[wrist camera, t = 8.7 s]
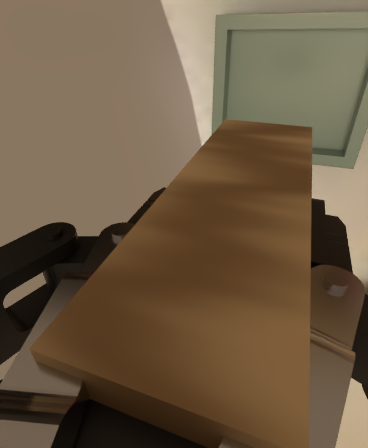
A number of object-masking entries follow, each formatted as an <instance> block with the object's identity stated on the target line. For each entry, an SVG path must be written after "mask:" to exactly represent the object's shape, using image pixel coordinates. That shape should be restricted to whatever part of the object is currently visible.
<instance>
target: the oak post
mask: <svg viewBox="0 0 368 448" xmlns="http://www.w3.org/2000/svg"><path fill="white" fill-rule="evenodd" d="M311 199H312V127H305V126H294V125H284V124H273V123H262V122H251V121H240V120H229V119H225V120H224V121H223V123H222V124H221V125H220V126H219V127H218V128H217V130H216V131H215V132H214V133H213V134H212V136H211V137H210V138H209V139H208V140H207V141H206V143H205V144H204V145H203V146H202V147H201V148H200V150H199V151H198V152H197V153H196V154H195V156H194V157H193V158H192V159H191V160H190V161H189V162H188V164H187V165H186V166H185V167H184V168H183V169H182V171H181V172H180V173H179V174H178V175H177V176H176V178H175V179H174V180H173V181H172V182H171V183H170V185H169V186H168V187H167V188H166V189H165V190H164V192H163V193H162V194H161V195H160V196H159V197H158V199H157V200H156V201H155V202H154V203H153V204H152V206H151V207H150V208H149V209H148V210H147V211H146V213H145V214H144V215H143V216H142V217H141V218H140V220H139V221H138V222H137V223H136V224H135V226H134V227H133V228H132V229H131V230H130V231H129V233H128V234H127V235H126V236H125V237H124V238H123V240H122V241H121V242H120V243H119V244H118V245H117V247H116V248H115V249H114V250H113V251H112V252H111V254H110V255H109V256H108V257H107V258H106V259H105V261H104V262H103V263H102V264H101V265H100V266H99V268H98V269H97V270H96V271H95V272H94V273H93V275H92V276H91V277H90V278H89V279H88V280H87V282H86V283H85V284H84V285H83V286H82V287H81V289H80V290H79V291H78V292H77V293H76V294H75V296H74V297H73V298H72V299H71V300H70V301H69V303H68V304H67V305H66V306H65V307H64V309H63V310H62V311H61V312H60V313H59V314H58V316H57V317H56V318H55V319H54V320H53V321H52V323H51V324H50V325H49V326H48V327H47V328H46V330H45V331H44V332H43V333H42V334H41V335H40V337H39V338H38V339H37V340H36V341H35V342H34V344H33V345H32V346H31V347H30V348H29V350H30V352H31V354H32V356H33V358H34V360H35V361H37V362H40V363H42V364H45V365H47V366H50V367H52V368H55V369H57V370H60V371H62V372H65V373H67V374H70V375H72V376H75V377H77V378H80V379H82V380H84V383H85V385H86V388H87V391H88V393H89V396H90V397H89V399H91V400H94V401H96V402H99V403H101V404H103V405H106V406H108V407H111V408H113V409H116V410H118V411H120V412H123V413H125V414H128V415H130V416H132V417H135V418H137V419H140V420H142V421H144V422H147V423H149V424H152V425H154V426H157V427H159V428H161V429H164V430H166V431H169V432H171V433H173V434H176V435H178V436H181V437H183V438H185V439H188V440H190V441H193V442H195V443H197V444H200V445H202V446H205V447H207V448H219V446H220V444H221V442H222V440H223V438H224V436H226V437H229V438H231V439H234V440H236V441H239V442H241V443H244V444H246V445H249V446H251V447H254V448H309V385H310V292H311Z"/></svg>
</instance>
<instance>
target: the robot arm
mask: <svg viewBox="0 0 368 448" xmlns="http://www.w3.org/2000/svg"><path fill="white" fill-rule="evenodd" d="M165 189H166V188H162V189H160V190H158V191H156V192H154V193H153V194H152V195H151V197H150V198H149V199H148V201H146V202H145V203H144V204H143V206H141V208H140V209H139V210H138V211H137V212H136V213H135V214H134V215H133V216H132V217H131V219H130V220H129V221H128V222H124V223H123V222H122V223H116V224H112V225H110V226H108V227H106V228H105V229H104V230H102V231H101V233H100V235H99V236H77V232H76V229H75V227H74V226H73V225H71V224H69V223H64V222H58V223H51V224H48V225H45V226H43V227H40V228H38V229H36V230H35V231H32V232H30V233H28V234H26V235H24V236H22V237H20V238H18V239H16V240H14V241H12V242H10V243H8V244H6V245H4V246H2V247H0V365H1V364H2V363H3V362H5V361H6V360H7V359H9V358H10V357H11V356H13V355H14V354H15V353H17V352H18V351H19V353H18V355H17V356H16V358H15V360H14V361H13V363H12V365H11V367H10V368H9V370H8V372H7V373H6V375H5V377H4V379H2V380H0V448H207V447H205V446H202V445H200V444H197V443H195V442H193V441H190V440H188V439H185V438H183V437H181V436H178V435H176V434H173V433H171V432H169V431H166V430H164V429H161V428H159V427H157V426H154V425H152V424H149V423H147V422H144V421H142V420H140V419H137V418H135V417H132V416H130V415H128V414H125V413H123V412H120V411H118V410H116V409H113V408H111V407H108V406H106V405H103V404H101V403H99V402H96V401H94V400H91V399H89V397H90V396H89V393H88V391H87V388H86V385H85V383H84V380H82V379H80V378H77V377H75V376H72V375H70V374H67V373H65V372H62V371H60V370H57V369H55V368H52V367H50V366H47V365H45V364H42V363H40V362H37V361H35V360H34V358H33V356H32V354H31V352H30V350H29V348H30V347H31V346H32V345H33V344H34V342H35V341H36V340H37V339H38V338H39V337H40V335H41V334H42V333H43V332H44V331H45V330H46V328H47V327H48V326H49V325H50V324H51V323H52V321H53V320H54V319H55V318H56V317H57V316H58V314H59V313H60V312H61V311H62V310H63V309H64V307H65V306H66V305H67V304H68V303H69V301H70V300H71V299H72V298H73V297H74V296H75V294H76V293H77V292H78V291H79V290H80V289H81V287H82V286H83V285H84V284H85V283H86V282H87V280H88V279H89V278H90V277H91V276H92V275H93V273H94V272H95V271H96V270H97V269H98V268H99V266H100V265H101V264H102V263H103V262H104V261H105V259H106V258H107V257H108V256H109V255H110V254H111V252H112V251H113V250H114V249H115V248H116V247H117V245H118V244H119V243H120V242H121V241H122V240H123V238H124V237H125V236H126V235H127V234H128V233H129V231H130V230H131V229H132V228H133V227H134V226H135V224H136V223H137V222H138V221H139V220H140V218H141V217H142V216H143V215H144V214H145V213H146V211H147V210H148V209H149V208H150V207H151V206H152V204H153V203H154V202H155V201H156V200H157V199H158V197H159V196H160V195H161V194H162V193H163V192H164V190H165ZM42 272H43V275H44V278H45V280H46V284H45V285H43V286H41V287H40V288H38V289H37V290H35V291H33V292H32V293H30V294H29V295H27V296H25V297H24V298H22V299H21V300H19V301H17V302H16V303H14V304H13V305H11V306H9V307H8V308H4V306H3V301H4V298H5V296H6V295H7V294H8V293H9V292H10V291H11V290H13V289H15V288H16V287H18V286H20V285H21V284H23V283H24V282H27V281H28V280H30V279H32V278H33V277H35V276H37V275H38V274H40V273H42ZM351 378H353V379H354V380H356V381H358V382H359V383H361V384H362V387H363V390H364V392H365V394H366V397H367V399H368V295H367V294H366V293H365V287H364V285H363V283H362V282H361V281H360V280H359V279H358V278H357V277H356V276H355V275H354V274H353V271H352V265H351V258H350V252H349V246H348V239H347V232H346V226H345V225H344V224H343V222H342V221H341V220H340V219H339V218H338V217H337V216H331V215H325V202H324V200H319V199H311V292H310V385H309V448H335V446H336V441H337V437H338V432H339V428H340V424H341V419H342V415H343V410H344V406H345V401H346V397H347V393H348V388H349V384H350V379H351ZM219 448H254V447H251V446H249V445H246V444H244V443H241V442H239V441H236V440H234V439H231V438H229V437H226V436H224V438H223V440H222V442H221V444H220V446H219Z"/></svg>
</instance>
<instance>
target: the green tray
mask: <svg viewBox="0 0 368 448" xmlns="http://www.w3.org/2000/svg"><path fill="white" fill-rule="evenodd" d="M225 119H229V120H240V121H251V122H262V123H273V124H284V125H294V126H305V127H312V164H314V165H323V166H332V167H340V168H349V169H354V165H355V162H356V159H357V156H358V153H359V150H360V147H361V144H362V141H363V138H364V135H365V132H366V129H367V126H368V11H355V12H315V13H275V14H235V15H216V28H215V56H214V85H213V113H212V134H213V133H214V132H215V131H216V130H217V128H218V127H219V126H220V125H221V124H222V123H223V121H224V120H225Z"/></svg>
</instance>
